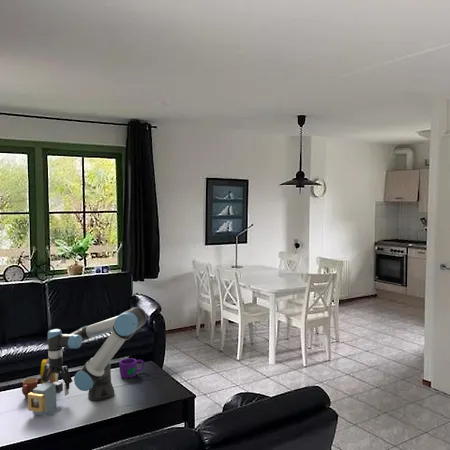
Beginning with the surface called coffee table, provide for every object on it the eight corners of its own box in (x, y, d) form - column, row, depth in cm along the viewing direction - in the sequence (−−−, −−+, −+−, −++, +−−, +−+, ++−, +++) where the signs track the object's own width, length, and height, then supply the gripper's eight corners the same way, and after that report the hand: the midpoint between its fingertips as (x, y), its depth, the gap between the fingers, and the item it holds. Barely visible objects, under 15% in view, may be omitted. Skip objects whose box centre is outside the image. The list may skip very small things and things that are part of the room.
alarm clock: (55, 391, 290) (54, 362, 288) (41, 392, 288) (39, 363, 287) (59, 381, 304) (58, 353, 303) (46, 383, 303) (45, 354, 302)
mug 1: (29, 393, 287) (28, 377, 287) (42, 394, 286) (41, 377, 285) (16, 402, 276) (15, 385, 275) (30, 403, 274) (29, 385, 273)
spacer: (45, 410, 256) (44, 394, 256) (42, 412, 254) (41, 395, 253) (31, 408, 259) (30, 392, 258) (28, 410, 257) (27, 394, 256)
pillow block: (60, 408, 266) (59, 383, 266) (49, 416, 257) (47, 391, 256) (42, 406, 270) (40, 381, 269) (30, 414, 260) (29, 389, 259)
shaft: (63, 390, 275) (62, 382, 274) (39, 406, 255) (38, 397, 254) (55, 389, 276) (55, 381, 276) (31, 405, 256) (31, 396, 256)
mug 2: (123, 380, 304) (123, 365, 303) (117, 375, 313) (116, 360, 312) (148, 374, 314) (148, 359, 313) (141, 369, 323) (140, 354, 322)
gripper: (77, 356, 272) (79, 393, 274) (42, 353, 279) (43, 389, 281) (69, 360, 265) (71, 398, 267) (33, 357, 272) (35, 394, 273)
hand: (57, 393), depth 274 cm, fingers open, 12 cm apart
